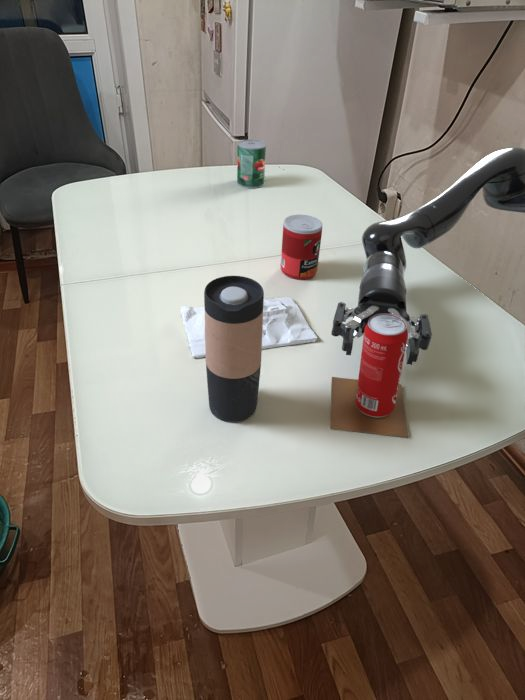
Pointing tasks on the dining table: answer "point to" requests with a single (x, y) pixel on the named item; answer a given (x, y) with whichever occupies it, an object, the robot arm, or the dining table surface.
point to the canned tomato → (251, 163)
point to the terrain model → (278, 328)
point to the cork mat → (354, 420)
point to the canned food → (300, 246)
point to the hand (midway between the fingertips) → (379, 355)
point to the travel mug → (233, 346)
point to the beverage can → (381, 364)
